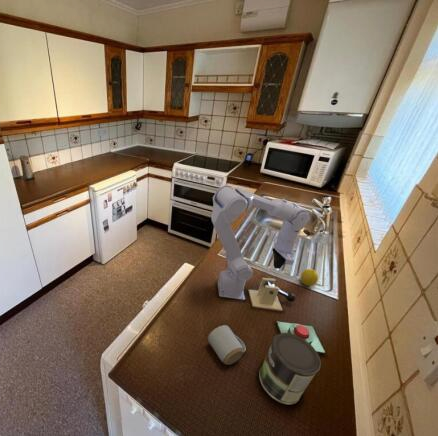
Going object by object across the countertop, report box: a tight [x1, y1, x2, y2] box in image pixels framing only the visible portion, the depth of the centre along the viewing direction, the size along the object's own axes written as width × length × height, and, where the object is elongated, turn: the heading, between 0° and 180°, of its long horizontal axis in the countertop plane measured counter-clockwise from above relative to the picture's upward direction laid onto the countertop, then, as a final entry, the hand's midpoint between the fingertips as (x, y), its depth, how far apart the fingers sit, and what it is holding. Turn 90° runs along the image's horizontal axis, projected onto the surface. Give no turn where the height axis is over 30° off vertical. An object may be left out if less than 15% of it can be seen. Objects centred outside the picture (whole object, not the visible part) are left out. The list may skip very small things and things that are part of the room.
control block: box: [275, 320, 326, 355], centre depth 75 cm, size 11×9×3 cm
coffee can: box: [258, 332, 322, 405], centre depth 61 cm, size 10×10×14 cm
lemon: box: [300, 268, 319, 287], centre depth 95 cm, size 6×6×8 cm
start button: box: [295, 324, 309, 339], centre depth 74 cm, size 4×4×2 cm
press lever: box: [263, 281, 296, 303], centre depth 86 cm, size 12×3×3 cm, turn 81°
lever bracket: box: [248, 277, 283, 312], centre depth 87 cm, size 10×8×9 cm
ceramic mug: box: [207, 324, 247, 366], centre depth 70 cm, size 11×8×8 cm
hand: (276, 267), depth 90 cm, fingers closed
